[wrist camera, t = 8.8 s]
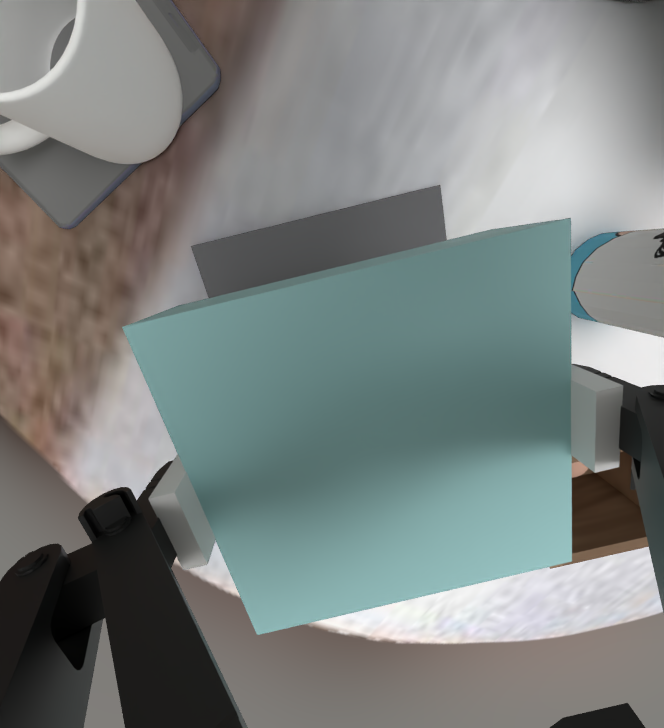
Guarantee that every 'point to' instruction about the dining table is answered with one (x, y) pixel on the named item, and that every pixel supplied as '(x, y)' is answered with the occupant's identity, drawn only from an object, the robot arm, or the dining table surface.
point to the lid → (378, 422)
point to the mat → (321, 242)
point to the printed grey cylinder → (621, 280)
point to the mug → (87, 80)
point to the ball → (578, 469)
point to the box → (605, 513)
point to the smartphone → (85, 172)
